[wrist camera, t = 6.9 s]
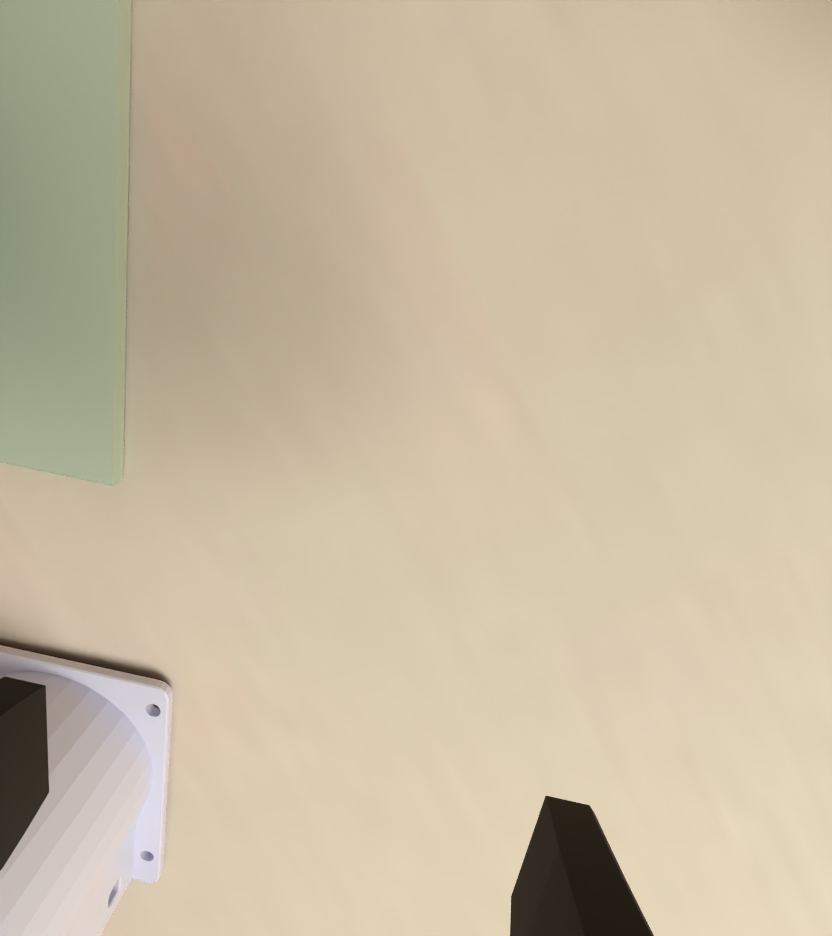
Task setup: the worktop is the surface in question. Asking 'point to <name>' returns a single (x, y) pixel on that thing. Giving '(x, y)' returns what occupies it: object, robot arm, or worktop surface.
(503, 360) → the worktop surface
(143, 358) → the worktop surface
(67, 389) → the baseplate
